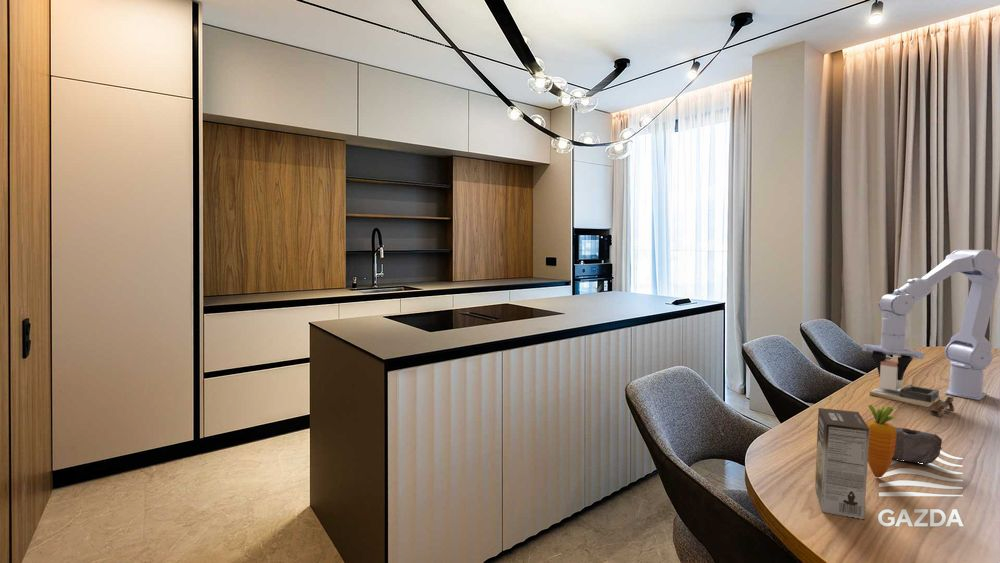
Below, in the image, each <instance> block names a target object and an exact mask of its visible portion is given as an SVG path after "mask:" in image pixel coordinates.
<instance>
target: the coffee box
mask: <svg viewBox="0 0 1000 563" xmlns="http://www.w3.org/2000/svg"><path fill="white" fill-rule="evenodd" d="M817 414H818V416H817V432H816V433H817V434H816V435H817V436H816V437H817V438H816V454H815V458H816V461H815V477H814V478H815V479H814V480H815V481H814V482H815V484H814V485H815V486H814V488H815V489H814V490H815V491H816V496H817V499H818V502H819V505H820V508H821V509H820V510H821V511H822V512H823V513H827V514H832V515H835V516H836V515H837V516H840V517H842V516H843V517H847V516H848V518H852V517H854V519H857V518H859V519H858V520H862V519H864V520H865V511H866V508H865V507H866V491H867V477H868V476H867V475H868V465H869V463H868V449H869V433H870V429H869V427H868V426H867V425H866V423H867V422H866V421H865V420H864V418H863V416H861V414H860V412H859V411H851V410H842V409H835V408H833V409H832V408H822V407H820V408H818V412H817Z"/></svg>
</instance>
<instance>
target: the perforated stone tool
mask: <svg viewBox="0 0 1000 563" xmlns="http://www.w3.org/2000/svg"><path fill="white" fill-rule="evenodd" d="M894 427H895V428H896V431H897V435H896V444H895V452H894V455H893V459H892V460H895V459H898V460H904V461H909V462H908V463H917V462H919V463H923V464H926V465H925V466H927V465H929V464H932V463H934V461H935V460H937V458H938V457H939V456H940V454H941V450H943V447H942V443H943V439H942V438H941V437H940V436H939V435H937V434H935V433H929V432H925V431H920V430H916V429H915V430H914V429H910V428H905V427H896V426H894ZM898 460H897V461H898Z"/></svg>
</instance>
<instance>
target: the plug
mask: <svg viewBox="0 0 1000 563" xmlns="http://www.w3.org/2000/svg"><path fill="white" fill-rule="evenodd" d="M878 387H880V388H885V389H891V390H897V389H902V380H898V360H893V359H887V358H885V360H883V361H881V366H880V377H879V386H878Z"/></svg>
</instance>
